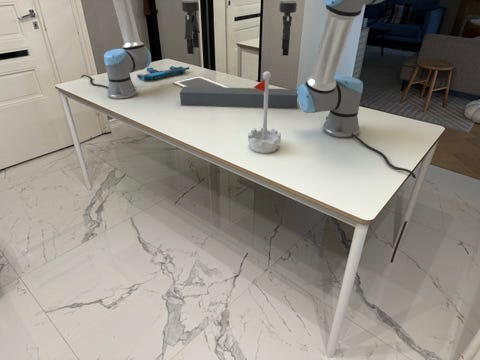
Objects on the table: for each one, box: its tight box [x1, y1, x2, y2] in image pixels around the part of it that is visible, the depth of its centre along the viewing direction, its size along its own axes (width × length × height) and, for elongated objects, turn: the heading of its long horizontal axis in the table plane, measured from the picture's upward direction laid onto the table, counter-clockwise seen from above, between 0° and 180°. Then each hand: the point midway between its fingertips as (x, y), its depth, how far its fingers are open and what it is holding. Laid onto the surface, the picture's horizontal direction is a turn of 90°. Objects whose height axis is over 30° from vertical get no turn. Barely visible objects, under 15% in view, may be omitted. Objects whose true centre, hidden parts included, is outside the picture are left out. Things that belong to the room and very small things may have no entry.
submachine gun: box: [136, 65, 190, 82], centre depth 223 cm, size 34×4×25 cm
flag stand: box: [247, 70, 282, 154], centre depth 129 cm, size 13×13×30 cm
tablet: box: [172, 75, 231, 88], centre depth 203 cm, size 32×20×1 cm, turn 41°
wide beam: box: [179, 86, 298, 110], centre depth 176 cm, size 60×10×7 cm, turn 85°
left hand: (193, 50), depth 165 cm, fingers open, 13 cm apart
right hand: (284, 52), depth 162 cm, fingers open, 13 cm apart
